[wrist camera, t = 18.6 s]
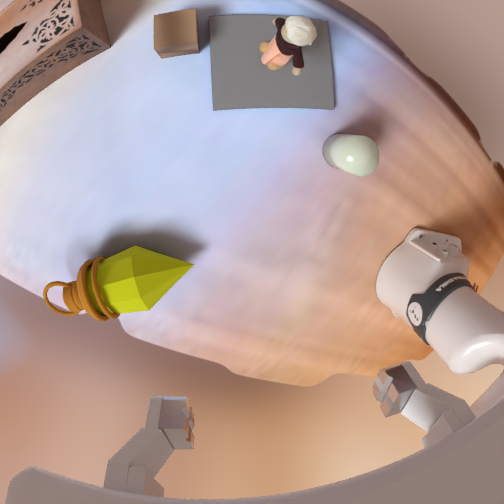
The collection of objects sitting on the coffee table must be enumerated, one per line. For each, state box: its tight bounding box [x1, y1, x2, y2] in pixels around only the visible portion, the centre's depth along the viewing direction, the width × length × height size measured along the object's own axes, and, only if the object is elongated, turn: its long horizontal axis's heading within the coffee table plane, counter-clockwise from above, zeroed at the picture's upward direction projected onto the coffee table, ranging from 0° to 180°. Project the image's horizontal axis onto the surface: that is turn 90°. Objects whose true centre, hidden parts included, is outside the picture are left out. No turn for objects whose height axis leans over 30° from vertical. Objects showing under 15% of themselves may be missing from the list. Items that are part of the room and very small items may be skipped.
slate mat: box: [209, 15, 334, 111], centre depth 29 cm, size 16×14×1 cm
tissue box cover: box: [0, 0, 111, 126], centre depth 18 cm, size 26×14×10 cm, turn 107°
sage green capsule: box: [322, 134, 379, 176], centre depth 33 cm, size 5×5×7 cm
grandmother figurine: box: [259, 15, 317, 75], centre depth 23 cm, size 8×4×13 cm, turn 29°
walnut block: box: [154, 9, 199, 59], centre depth 25 cm, size 5×5×5 cm
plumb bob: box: [43, 246, 194, 321], centre depth 35 cm, size 9×9×25 cm
